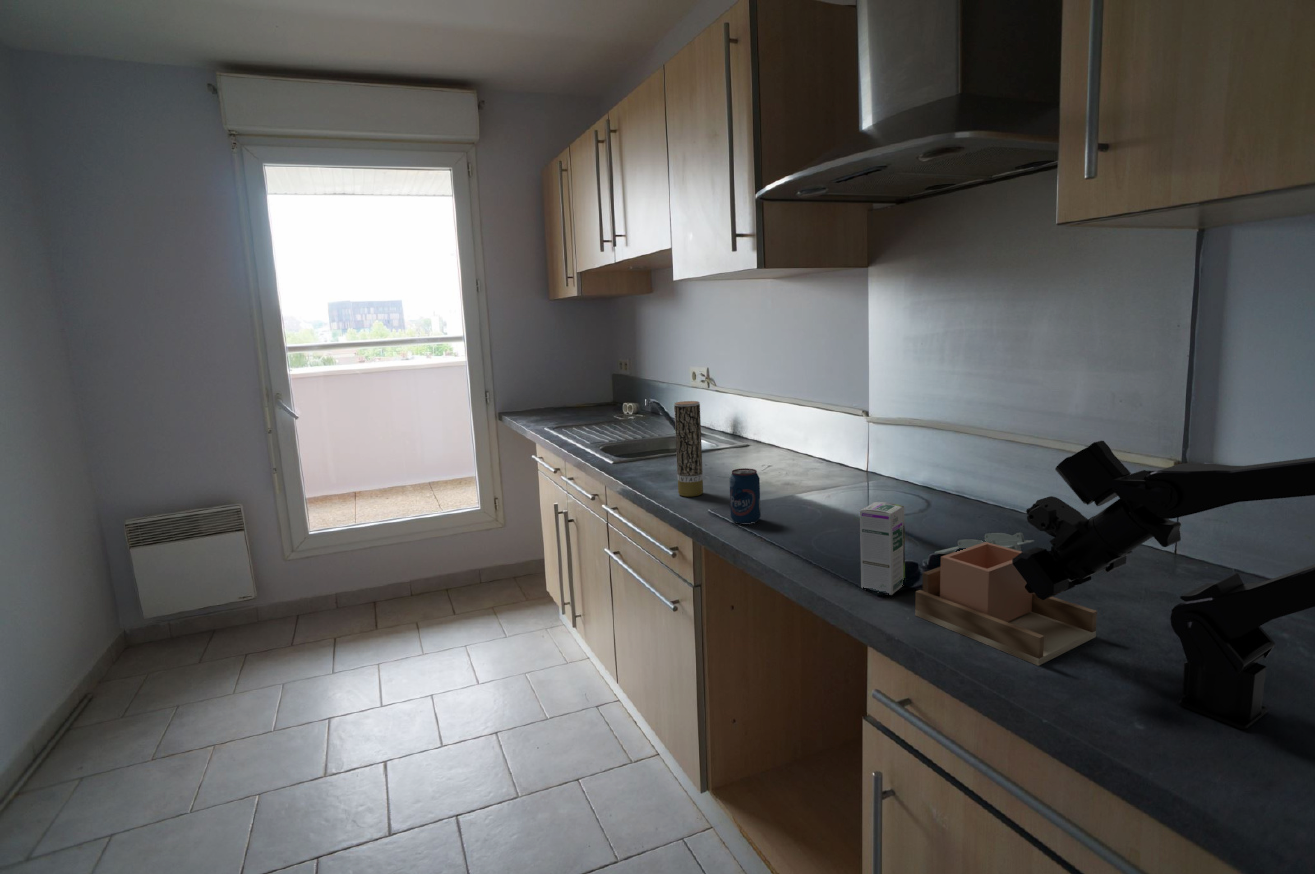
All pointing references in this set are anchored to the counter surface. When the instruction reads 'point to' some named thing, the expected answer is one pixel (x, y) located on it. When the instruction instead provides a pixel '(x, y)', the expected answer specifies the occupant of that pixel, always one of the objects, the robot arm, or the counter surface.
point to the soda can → (745, 495)
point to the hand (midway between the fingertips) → (1028, 589)
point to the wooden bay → (1011, 623)
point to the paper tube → (688, 448)
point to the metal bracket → (993, 538)
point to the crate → (985, 581)
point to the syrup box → (882, 546)
